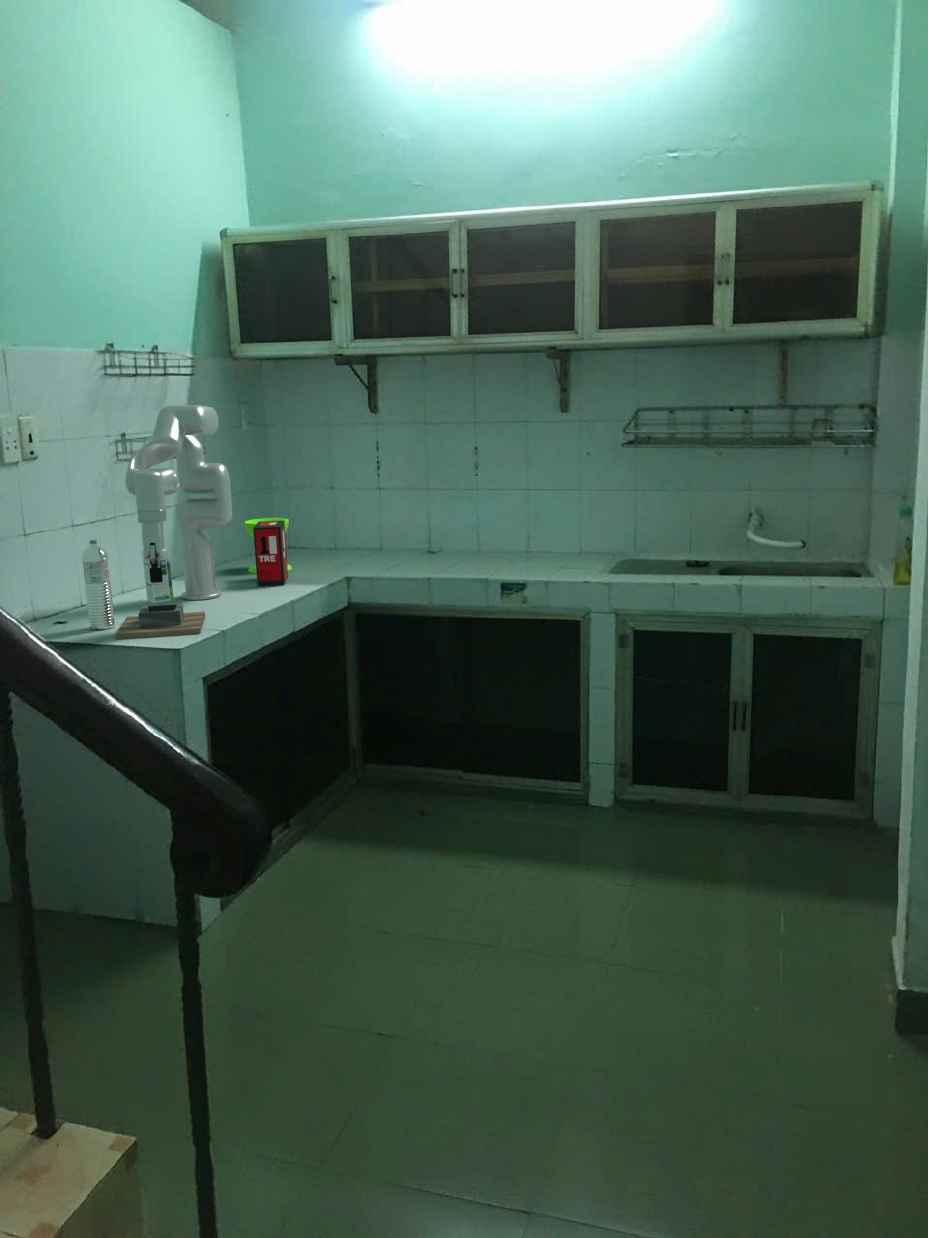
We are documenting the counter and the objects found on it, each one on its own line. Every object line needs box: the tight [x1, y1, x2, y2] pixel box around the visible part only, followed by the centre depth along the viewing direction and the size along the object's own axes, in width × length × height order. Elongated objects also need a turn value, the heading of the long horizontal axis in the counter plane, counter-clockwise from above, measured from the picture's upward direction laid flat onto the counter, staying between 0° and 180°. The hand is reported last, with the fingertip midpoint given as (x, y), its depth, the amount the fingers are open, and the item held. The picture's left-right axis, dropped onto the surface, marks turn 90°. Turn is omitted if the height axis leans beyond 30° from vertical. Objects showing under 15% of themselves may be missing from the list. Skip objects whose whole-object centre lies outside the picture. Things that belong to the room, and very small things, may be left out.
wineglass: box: [244, 517, 293, 574], centre depth 369 cm, size 16×16×18 cm
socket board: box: [115, 602, 206, 640], centre depth 283 cm, size 22×22×6 cm
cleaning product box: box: [253, 521, 289, 588], centre depth 345 cm, size 16×9×20 cm, turn 5°
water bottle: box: [81, 539, 116, 631], centre depth 282 cm, size 7×7×25 cm
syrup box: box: [141, 548, 174, 604], centre depth 280 cm, size 6×6×14 cm
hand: (158, 579), depth 280 cm, fingers closed on syrup box, 7 cm apart
